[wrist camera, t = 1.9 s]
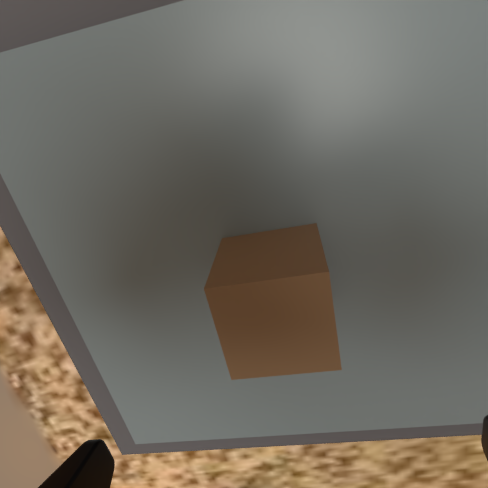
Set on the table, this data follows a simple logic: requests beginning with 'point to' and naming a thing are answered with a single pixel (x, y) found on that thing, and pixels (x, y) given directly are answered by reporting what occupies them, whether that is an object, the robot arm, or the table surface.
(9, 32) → the mat
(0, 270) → the table surface
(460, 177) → the lid
